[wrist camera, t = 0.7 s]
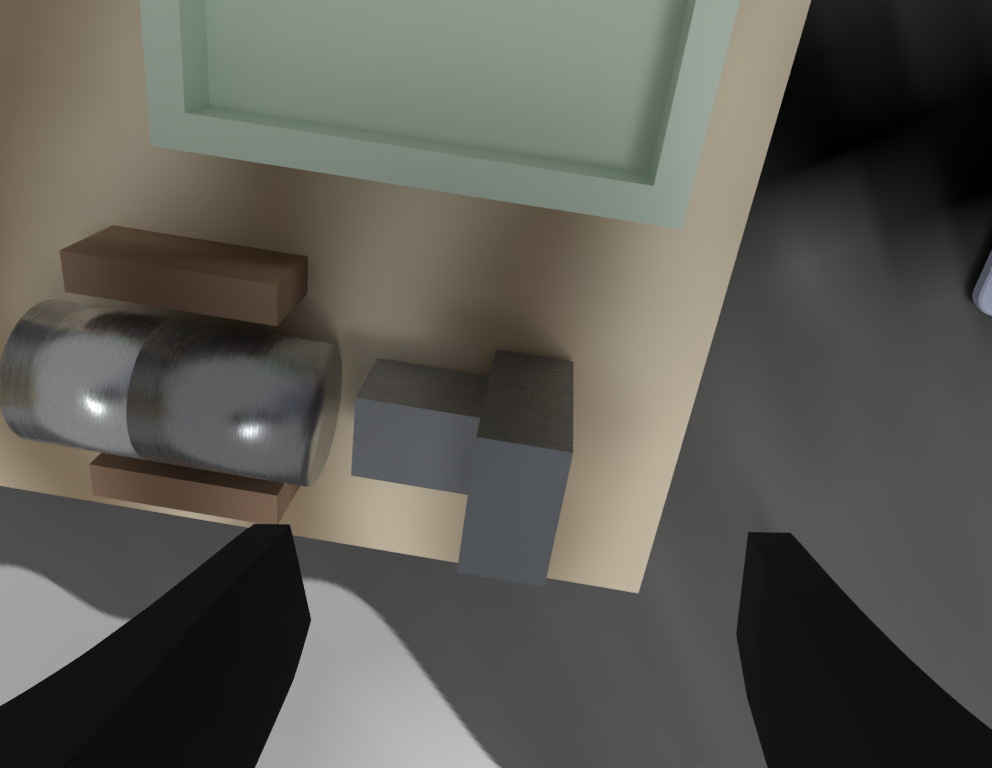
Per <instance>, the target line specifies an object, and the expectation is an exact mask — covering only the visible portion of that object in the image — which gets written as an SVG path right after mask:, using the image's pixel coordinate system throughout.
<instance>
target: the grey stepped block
mask: <svg viewBox="0 0 992 768" xmlns="http://www.w3.org/2000/svg"><path fill="white" fill-rule="evenodd" d="M573 368H574V362H572V361H566V360H560V359H554V358H547V357H541V356H535V355H529V354H523V353H517V352H510V351H504V350H498V349H496V352H495V357H494V361H493V365H492V370H491V374H490V376H484V375H477V374H471V373H465V372H459V371H453V370H447V369H441V368H434V367H428V366H422V365H416V364H410V363H404V362H397V361H391V360H385V359H379V358H377V360H376V362H375V363H374V365H373V367H372V369H371V370H370V372H369V374H368V376H367V378H366V379H365V381H364V383H363V385H362V386H361V388H360V390H359V392H358V394H357V395H356V397H355V411H354V429H353V448H352V466H351V476H356V477H362V478H368V479H374V480H380V481H386V482H392V483H398V484H404V485H410V486H416V487H422V488H428V489H434V490H440V491H446V492H452V493H458V494H464V495H468V497H467V504H466V511H465V518H464V525H463V532H462V539H461V546H460V553H459V560H458V567H457V572H458V573H464V574H470V575H476V576H482V577H488V578H494V579H499V580H505V581H511V582H517V583H523V584H529V585H535V586H541V587H545V582H546V578H547V573H548V568H549V564H550V559H551V554H552V550H553V545H554V540H555V536H556V531H557V526H558V522H559V517H560V512H561V508H562V503H563V498H564V494H565V489H566V484H567V480H568V475H569V470H570V466H571V461H572V456H573Z"/></svg>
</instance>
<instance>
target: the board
mask: <svg viewBox="0 0 992 768" xmlns="http://www.w3.org/2000/svg"><path fill="white" fill-rule="evenodd" d="M810 2H811V0H740V3H739V7H738V11H737V15H736V19H735V23H734V27H733V31H732V35H731V39H730V43H729V47H728V51H727V55H726V58H725V62H724V66H723V70H722V74H721V78H720V82H719V86H718V90H717V94H716V98H715V102H714V106H713V110H712V114H711V118H710V122H709V126H708V130H707V134H706V138H705V142H704V146H703V150H702V153H701V157H700V161H699V165H698V169H697V173H696V177H695V181H694V185H693V189H692V193H691V197H690V201H689V205H688V209H687V213H686V217H685V221H684V225H683V229H677V228H670V227H664V226H658V225H651V224H645V223H638V222H632V221H626V220H619V219H613V218H607V217H600V216H594V215H588V214H581V213H575V212H568V211H562V210H556V209H549V208H543V207H537V206H530V205H524V204H517V203H511V202H505V201H498V200H492V199H486V198H479V197H473V196H467V195H460V194H454V193H447V192H441V191H435V190H428V189H422V188H416V187H409V186H403V185H397V184H390V183H384V182H377V181H371V180H365V179H358V178H352V177H346V176H339V175H333V174H326V173H320V172H314V171H307V170H301V169H295V168H288V167H282V166H276V165H269V164H263V163H256V162H250V161H244V160H237V159H231V158H225V157H218V156H212V155H205V154H199V153H193V152H186V151H180V150H174V149H167V148H161V147H155V146H151V141H150V128H149V115H148V101H147V88H146V75H145V62H144V49H143V35H142V22H141V9H140V0H0V362H1V358H2V354H3V351H4V348H5V345H6V343H7V341H8V338H9V336H10V334H11V332H12V331H13V329H14V327H15V326H16V324H17V323H18V321H19V320H20V319H21V318H22V316H23V315H24V314H25V313H26V312H27V311H28V310H30V309H31V308H32V307H33V306H35V305H36V304H38V303H40V302H42V301H45V300H49V299H60V300H66V301H73V302H79V303H85V304H91V305H97V306H103V307H110V308H116V309H122V310H128V311H134V312H140V313H147V314H153V315H159V316H165V317H171V318H177V319H183V320H190V321H196V322H202V323H208V324H214V325H220V326H227V327H233V328H239V329H245V330H251V331H257V332H264V333H270V334H276V335H282V336H288V337H294V338H301V339H307V340H313V341H319V342H325V343H331V344H335V345H336V346H337V347H338V349H339V352H340V355H341V362H342V391H341V401H340V408H339V414H338V420H337V425H336V430H335V434H334V438H333V442H332V445H331V449H330V452H329V455H328V458H327V461H326V463H325V466H324V468H323V470H322V472H321V474H320V476H319V478H318V479H317V481H316V482H315V483H314V484H313V485H312V486H310V487H304V486H300V487H299V489H298V491H297V493H296V494H295V496H294V498H293V500H292V501H291V503H290V505H289V507H288V508H287V510H286V512H285V513H284V515H283V517H282V519H281V520H280V522H279V524H290V526H291V531H292V535H296V536H302V537H308V538H314V539H320V540H325V541H331V542H337V543H343V544H349V545H355V546H361V547H367V548H373V549H379V550H385V551H391V552H397V553H403V554H409V555H415V556H420V557H426V558H432V559H438V560H444V561H450V562H456V563H458V560H459V553H460V546H461V539H462V532H463V525H464V518H465V511H466V504H467V497H468V495H464V494H458V493H452V492H446V491H440V490H434V489H428V488H422V487H416V486H410V485H404V484H398V483H392V482H386V481H380V480H374V479H368V478H362V477H356V476H351V466H352V448H353V429H354V411H355V397H356V395H357V394H358V392H359V390H360V388H361V386H362V385H363V383H364V381H365V379H366V378H367V376H368V374H369V372H370V370H371V369H372V367H373V365H374V363H375V362H376V360H377V358H379V359H385V360H391V361H397V362H404V363H410V364H416V365H422V366H428V367H434V368H441V369H447V370H453V371H459V372H465V373H471V374H477V375H484V376H490V374H491V370H492V365H493V361H494V357H495V352H496V349H498V350H504V351H510V352H517V353H523V354H529V355H535V356H541V357H547V358H554V359H560V360H566V361H572V362H574V368H573V456H572V461H571V466H570V470H569V475H568V480H567V484H566V489H565V494H564V498H563V503H562V508H561V512H560V517H559V522H558V526H557V531H556V536H555V540H554V545H553V550H552V554H551V559H550V564H549V568H548V573H547V578H551V579H557V580H563V581H569V582H575V583H581V584H587V585H593V586H599V587H605V588H610V589H616V590H622V591H628V592H634V593H639V589H640V586H641V582H642V579H643V576H644V572H645V569H646V565H647V562H648V558H649V555H650V551H651V548H652V545H653V541H654V538H655V534H656V531H657V527H658V524H659V521H660V517H661V514H662V510H663V507H664V503H665V500H666V497H667V493H668V490H669V486H670V483H671V479H672V476H673V473H674V469H675V466H676V462H677V459H678V455H679V452H680V449H681V445H682V442H683V438H684V435H685V431H686V428H687V425H688V421H689V418H690V414H691V411H692V407H693V404H694V400H695V397H696V394H697V390H698V387H699V383H700V380H701V376H702V373H703V370H704V366H705V363H706V359H707V356H708V352H709V349H710V346H711V342H712V339H713V335H714V332H715V328H716V325H717V322H718V318H719V315H720V311H721V308H722V304H723V301H724V298H725V294H726V291H727V287H728V284H729V280H730V277H731V274H732V270H733V267H734V263H735V260H736V256H737V253H738V250H739V246H740V243H741V239H742V236H743V232H744V229H745V225H746V222H747V219H748V215H749V212H750V208H751V205H752V201H753V198H754V195H755V191H756V188H757V184H758V181H759V177H760V174H761V171H762V167H763V164H764V160H765V157H766V153H767V150H768V147H769V143H770V140H771V136H772V133H773V129H774V126H775V123H776V119H777V116H778V112H779V109H780V105H781V102H782V99H783V95H784V92H785V88H786V85H787V81H788V78H789V74H790V71H791V68H792V64H793V61H794V57H795V54H796V50H797V47H798V44H799V40H800V37H801V33H802V30H803V26H804V23H805V20H806V16H807V13H808V9H809V6H810ZM112 225H115V226H121V227H127V228H134V229H140V230H146V231H152V232H159V233H165V234H171V235H177V236H184V237H190V238H196V239H202V240H209V241H215V242H221V243H227V244H234V245H240V246H246V247H253V248H259V249H265V250H271V251H278V252H284V253H290V254H296V255H303V256H308V283H307V295H306V296H305V297H304V298H303V299H302V300H301V301H300V302H299V303H298V304H297V305H296V306H295V307H294V309H293V310H292V311H291V312H290V313H289V314H288V315H287V316H286V317H285V318H284V319H283V320H282V321H281V322H280V324H279V325H278V326H272V325H266V324H260V323H254V322H247V321H241V320H235V319H229V318H223V317H217V316H210V315H204V314H198V313H192V312H186V311H180V310H173V309H167V308H161V307H155V306H149V305H143V304H136V303H130V302H124V301H118V300H112V299H106V298H99V297H93V296H87V295H81V294H75V293H68V292H65V287H64V280H63V273H62V266H61V258H60V251H59V250H61V249H63V248H66V247H68V246H70V245H72V244H74V243H76V242H78V241H80V240H83V239H85V238H87V237H89V236H91V235H93V234H95V233H97V232H100V231H102V230H104V229H106V228H108V227H110V226H112ZM100 454H101V453H100V452H94V451H88V450H82V449H76V448H70V447H64V446H58V445H52V444H46V443H40V442H34V441H29V440H25V439H22V438H20V437H19V436H17V435H16V434H15V433H14V432H13V431H12V430H11V429H10V428H9V427H8V425H7V423H6V421H5V419H4V417H3V414H2V412H1V408H0V486H5V487H11V488H17V489H23V490H29V491H35V492H41V493H46V494H52V495H58V496H64V497H70V498H76V499H82V500H88V501H94V502H100V503H106V504H112V505H118V506H124V507H130V508H136V509H141V510H147V511H153V512H159V513H165V514H171V515H177V516H183V517H189V518H195V519H201V520H207V521H213V522H219V523H225V524H230V525H236V526H242V527H248V528H249V527H251V526H252V525H253V524H260V523H254V522H248V521H242V520H236V519H230V518H224V517H218V516H212V515H206V514H200V513H194V512H188V511H182V510H176V509H170V508H164V507H159V506H153V505H147V504H141V503H135V502H129V501H123V500H117V499H111V498H105V497H99V496H93V490H92V482H91V475H90V468H89V464H90V463H91V462H92V461H93V460H94V459H95V458H96V457H97V456H98V455H100Z"/></svg>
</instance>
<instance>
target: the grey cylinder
mask: <svg viewBox="0 0 992 768" xmlns="http://www.w3.org/2000/svg"><path fill="white" fill-rule="evenodd" d="M341 391H342V362H341V355H340V352H339V349H338V347H337V346H336V345H335V344H331V343H325V342H319V341H313V340H307V339H301V338H294V337H288V336H282V335H276V334H270V333H264V332H257V331H251V330H245V329H239V328H233V327H227V326H220V325H214V324H208V323H202V322H196V321H190V320H183V319H177V318H171V317H165V316H159V315H153V314H147V313H140V312H134V311H128V310H122V309H116V308H110V307H103V306H97V305H91V304H85V303H79V302H73V301H66V300H60V299H49V300H45V301H42V302H40V303H38V304H36V305H35V306H33V307H32V308H31V309H30V310H28V311H27V312H26V313H25V314H24V315H23V316H22V318H21V319H20V320H19V321H18V323H17V324H16V326H15V327H14V329H13V331H12V332H11V334H10V336H9V338H8V341H7V343H6V345H5V348H4V351H3V354H2V358H1V362H0V408H1V412H2V414H3V417H4V419H5V421H6V423H7V425H8V427H9V428H10V429H11V430H12V431H13V432H14V433H15V434H16V435H17V436H19V437H20V438H22V439H25V440H29V441H34V442H40V443H46V444H52V445H58V446H64V447H70V448H76V449H82V450H88V451H94V452H100V453H106V454H112V455H118V456H124V457H130V458H136V459H142V460H148V461H154V462H160V463H166V464H172V465H178V466H184V467H190V468H196V469H202V470H208V471H214V472H220V473H226V474H232V475H238V476H244V477H250V478H256V479H262V480H268V481H274V482H280V483H286V484H292V485H298V486H304V487H310V486H312V485H313V484H314V483H315V482H316V481H317V479H318V478H319V476H320V474H321V472H322V470H323V468H324V466H325V463H326V461H327V458H328V455H329V452H330V449H331V445H332V442H333V438H334V434H335V430H336V425H337V420H338V414H339V408H340V401H341Z"/></svg>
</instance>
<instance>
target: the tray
mask: <svg viewBox="0 0 992 768" xmlns="http://www.w3.org/2000/svg"><path fill="white" fill-rule="evenodd" d="M739 3H740V0H140V9H141V22H142V35H143V49H144V62H145V75H146V88H147V101H148V115H149V128H150V141H151V146H155V147H161V148H167V149H174V150H180V151H186V152H193V153H199V154H205V155H212V156H218V157H225V158H231V159H237V160H244V161H250V162H256V163H263V164H269V165H276V166H282V167H288V168H295V169H301V170H307V171H314V172H320V173H326V174H333V175H339V176H346V177H352V178H358V179H365V180H371V181H377V182H384V183H390V184H397V185H403V186H409V187H416V188H422V189H428V190H435V191H441V192H447V193H454V194H460V195H467V196H473V197H479V198H486V199H492V200H498V201H505V202H511V203H517V204H524V205H530V206H537V207H543V208H549V209H556V210H562V211H568V212H575V213H581V214H588V215H594V216H600V217H607V218H613V219H619V220H626V221H632V222H638V223H645V224H651V225H658V226H664V227H670V228H677V229H683V225H684V221H685V217H686V213H687V209H688V205H689V201H690V197H691V193H692V189H693V185H694V181H695V177H696V173H697V169H698V165H699V161H700V157H701V153H702V150H703V146H704V142H705V138H706V134H707V130H708V126H709V122H710V118H711V114H712V110H713V106H714V102H715V98H716V94H717V90H718V86H719V82H720V78H721V74H722V70H723V66H724V62H725V58H726V55H727V51H728V47H729V43H730V39H731V35H732V31H733V27H734V23H735V19H736V15H737V11H738V7H739Z"/></svg>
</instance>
